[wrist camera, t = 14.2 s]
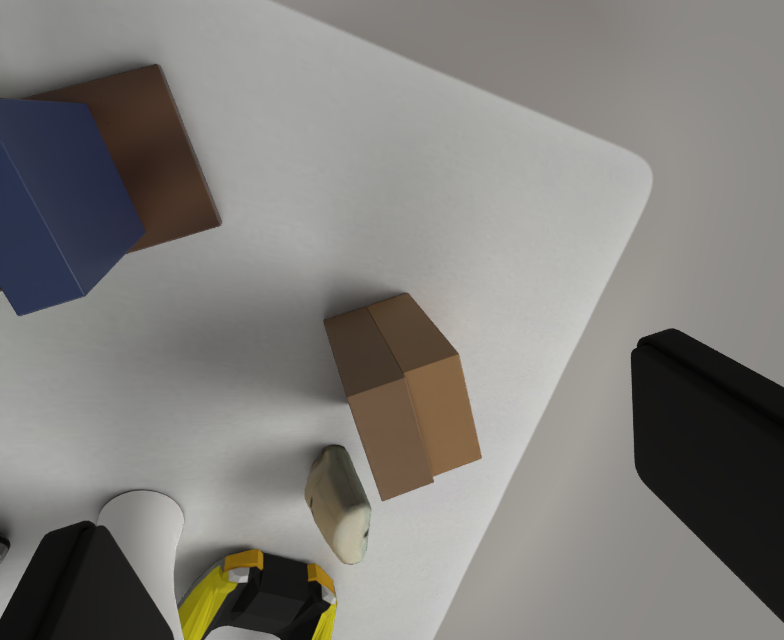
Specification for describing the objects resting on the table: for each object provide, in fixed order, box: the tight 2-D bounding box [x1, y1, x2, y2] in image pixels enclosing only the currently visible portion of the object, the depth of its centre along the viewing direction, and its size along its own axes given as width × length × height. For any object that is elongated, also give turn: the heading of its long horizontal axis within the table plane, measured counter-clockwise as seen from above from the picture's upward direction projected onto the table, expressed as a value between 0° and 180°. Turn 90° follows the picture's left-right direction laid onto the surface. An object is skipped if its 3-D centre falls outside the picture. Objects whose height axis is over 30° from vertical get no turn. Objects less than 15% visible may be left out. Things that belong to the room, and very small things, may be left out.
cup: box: [96, 490, 184, 640], centre depth 36 cm, size 10×10×14 cm
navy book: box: [0, 98, 146, 316], centre depth 26 cm, size 8×3×13 cm, turn 14°
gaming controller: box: [177, 549, 337, 640], centre depth 46 cm, size 15×6×10 cm
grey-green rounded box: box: [305, 445, 371, 565], centre depth 42 cm, size 6×5×8 cm
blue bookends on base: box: [0, 64, 222, 291], centre depth 26 cm, size 10×18×14 cm, turn 104°
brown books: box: [323, 293, 482, 501], centre depth 37 cm, size 8×7×12 cm
